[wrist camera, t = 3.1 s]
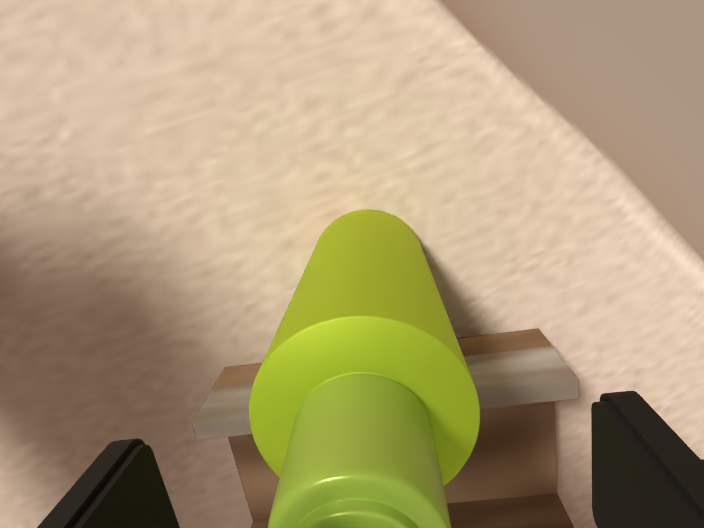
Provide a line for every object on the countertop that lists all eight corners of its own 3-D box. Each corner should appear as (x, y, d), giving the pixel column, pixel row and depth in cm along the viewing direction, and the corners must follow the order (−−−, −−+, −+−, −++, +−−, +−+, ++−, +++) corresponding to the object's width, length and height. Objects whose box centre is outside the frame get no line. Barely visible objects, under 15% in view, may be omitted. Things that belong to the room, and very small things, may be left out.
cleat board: (224, 367, 26) (108, 560, 15) (538, 328, 24) (684, 511, 13) (266, 512, 29) (197, 762, 18) (544, 486, 28) (666, 744, 16)
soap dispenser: (351, 171, 22) (218, 474, 3) (446, 261, 23) (765, 872, 4) (276, 252, 24) (-115, 788, 5) (370, 333, 25) (361, 1020, 6)
